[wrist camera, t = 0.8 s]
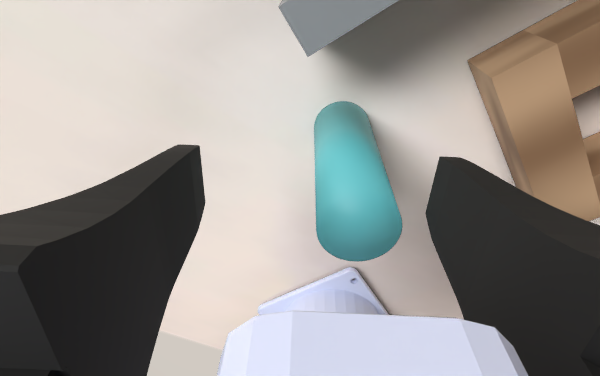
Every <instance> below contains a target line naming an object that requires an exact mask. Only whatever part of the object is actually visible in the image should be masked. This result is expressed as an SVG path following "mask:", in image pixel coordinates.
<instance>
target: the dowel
mask: <svg viewBox="0 0 600 376" xmlns="http://www.w3.org/2000/svg"><path fill="white" fill-rule="evenodd" d="M314 144H315V190H316V231H317V237H318V240H319V242H320V244H321V245H322V246H323V248H324V249H325V250H326V251H327V252H329V253H330V254H332V255H333V256H335V257H337V258H340V259H343V260H348V261H366V260H370V259H374V258H377V257H379V256H381V255H383V254H384V253H386V252H387V251H389V250H390V249H391V248H392V247H393V246H394V245H395V244H396V242H397V241H398V239H399V237H400V235H401V231H402V219H401V216H400V213H399V210H398V207H397V204H396V201H395V198H394V195H393V192H392V189H391V186H390V183H389V180H388V177H387V174H386V171H385V168H384V165H383V162H382V159H381V156H380V153H379V150H378V147H377V144H376V141H375V138H374V135H373V132H372V129H371V126H370V123H369V120H368V117H367V115H366V113H365V112H364V110H363V109H362V108H361V107H359V106H358V105H356V104H354V103H351V102H346V101H341V102H335V103H332V104H330V105H328V106H326V107H325V108H324V109H322V111H321V112H320V113H319V114H318V116H317V118H316V120H315V124H314Z"/></svg>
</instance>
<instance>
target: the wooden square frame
mask: <svg viewBox="0 0 600 376" xmlns="http://www.w3.org/2000/svg"><path fill="white" fill-rule="evenodd" d="M467 61H468V63H469V66H470V68H471V71H472V74H473V76H474V79H475V81H476V84H477V86H478V89H479V92H480V94H481V97H482V99H483V102H484V105H485V107H486V110H487V112H488V115H489V117H490V120H491V123H492V125H493V128H494V130H495V133H496V136H497V138H498V141H499V143H500V146H501V148H502V151H503V154H504V156H505V159H506V161H507V164H508V167H509V169H510V172H511V174H512V177H513V179H514V182H515V185H516V187H517V188H518V189H520V190H522V191H524V192H526V193H527V194H529V195H531V196H533V197H535V198H537V199H539V200H541V201H543V202H545V203H547V204H549V205H551V206H553V207H556V208H558V209H560V210H562V211H565V212H567V213H569V214H572V215H574V216H576V217H579V218H581V219H584V220H586V221H591V220H593V219H596V218H598V217H600V132H598V133H596V134H594V135H592V136H589V137H587V138H585V139H582V135H581V131H580V127H579V124H578V120H577V116H576V112H575V109H574V105H573V101H572V98H574V97H577V96H579V95H581V94H583V93H585V92H587V91H589V90H591V89H593V88H595V87H598V86H600V0H578V1H576V2H574V3H572V4H570V5H569V6H567V7H565V8H563V9H561V10H559V11H557V12H556V13H554V14H552V15H550V16H548V17H546V18H545V19H543V20H541V21H539V22H537V23H535V24H534V25H532V26H530V27H528V28H526V29H524V30H523V31H521V32H519V33H517V34H515V35H513V36H511V37H510V38H508V39H506V40H504V41H502V42H500V43H499V44H497V45H495V46H493V47H491V48H489V49H488V50H486V51H484V52H482V53H480V54H478V55H477V56H475V57H473V58H471V59H469V60H467Z"/></svg>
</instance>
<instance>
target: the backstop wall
mask: <svg viewBox="0 0 600 376" xmlns="http://www.w3.org/2000/svg"><path fill="white" fill-rule="evenodd" d="M397 1H399V0H282V1H281V3H280V5H279V9H280V10H281V12H282V14H283V15H284V17H285V19H286V21H287V22H288V24H289V26H290V27H291V29H292V31H293V33H294V34H295V36H296V38H297V39H298V41H299V43H300V44H301V46H302V48H303V50H304V51H305V53H306V55H307V56H308V57H309V56H310V55H312V54H313V53H315V52H317V51H318V50H320V49H321V48H323V47H325V46H326V45H328V44H330V43H331V42H333V41H334V40H336V39H338V38H339V37H341V36H342V35H344V34H346V33H347V32H349V31H350V30H352V29H354V28H355V27H357V26H358V25H360V24H362V23H363V22H365V21H367V20H368V19H370V18H371V17H373V16H375V15H376V14H378V13H379V12H381V11H383V10H384V9H386V8H387V7H389V6H391V5H392V4H394V3H395V2H397Z"/></svg>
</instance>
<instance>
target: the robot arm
mask: <svg viewBox="0 0 600 376" xmlns="http://www.w3.org/2000/svg"><path fill="white" fill-rule="evenodd" d="M204 206H205V195H204V186H203V176H202V166H201V156H200V146H198V145H177V146H174V147H172V148H170V149H168V150H166V151H164V152H162V153H160V154H158V155H157V156H155V157H153V158H151V159H149V160H147V161H146V162H144V163H142V164H140V165H138V166H136V167H134V168H133V169H130V170H128V171H126V172H124V173H122V174H120V175H118V176H116V177H114V178H112V179H110V180H108V181H106V182H104V183H101V184H99V185H97V186H94V187H92V188H89V189H87V190H84V191H81V192H79V193H76V194H73V195H71V196H68V197H65V198H61V199H58V200H55V201H51V202H48V203H45V204H41V205H38V206H35V207H31V208H28V209H24V210H20V211H16V212H12V213H7V214H3V215H0V376H147V372H148V368H149V364H150V360H151V357H152V353H153V350H154V346H155V343H156V339H157V336H158V332H159V328H160V325H161V322H162V319H163V315H164V312H165V309H166V306H167V302H168V299H169V297H170V294H171V291H172V289H173V286H174V284H175V282H176V279H177V277H178V275H179V272H180V270H181V268H182V266H183V263H184V261H185V259H186V257H187V254H188V252H189V250H190V248H191V245H192V243H193V241H194V238H195V236H196V234H197V231H198V229H199V225H200V221H201V218H202V214H203V210H204ZM426 217H427V222H428V226H429V230H430V234H431V238H432V241H433V243H434V246H435V248H436V251H437V253H438V255H439V258H440V260H441V263H442V265H443V267H444V270H445V272H446V274H447V277H448V279H449V281H450V284H451V286H452V288H453V291H454V293H455V295H456V298H457V300H458V303H459V305H460V308H461V311H462V314H463V317H464V320H463V319H458V318H448V317H426V316H404V315H389V314H388V313H387V311H386V310H385V309H384V307H383V306H382V304H381V303H380V302H379V300H378V299H377V297H376V296H375V295H374V293H373V292H372V290H371V289H370V288H369V286H368V285H367V284H366V282H365V281H364V279H363V278H362V277H361V275H360V274H359V272H358V271H357V270H356V269H355V268H351V267H349V268H346V269H344V270H341V271H339V272H337V273H334V274H332V275H329V276H327V277H325V278H322V279H320V280H318V281H315V282H313V283H311V284H308V285H306V286H304V287H301V288H299V289H297V290H294V291H292V292H290V293H287V294H285V295H282V296H280V297H278V298H275V299H273V300H271V301H268V302H266V303H264V304H261V305H260V306H259V307H258V313H259V315H258V316H255V317H253V318H251V319H250V320H248V321H247V322H245V323H244V324H242V325H241V326H239V327H238V328H236V329H235V330H233V331H231V332H230V333H228V337H227V340H226V343H225V346H224V349H223V352H222V355H221V359H220V363H219V368H218V373H217V376H600V226H599V225H597V224H594V223H591V222H589V221H586V220H584V219H581V218H579V217H576V216H574V215H572V214H569V213H567V212H565V211H562V210H560V209H558V208H556V207H553V206H551V205H549V204H547V203H545V202H543V201H541V200H539V199H537V198H535V197H533V196H531V195H529V194H527V193H526V192H524V191H522V190H520V189H518V188H516V187H514V186H513V185H511V184H509V183H507V182H506V181H504V180H502V179H500V178H499V177H497V176H495V175H493V174H492V173H490V172H488V171H486V170H485V169H483V168H481V167H479V166H477V165H475V164H474V163H472V162H470V161H467V160H465V159H463V158H458V157H440V158H439V161H438V165H437V169H436V173H435V177H434V181H433V185H432V189H431V193H430V197H429V201H428V205H427V209H426ZM353 278H355V280H352V279H353Z"/></svg>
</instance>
